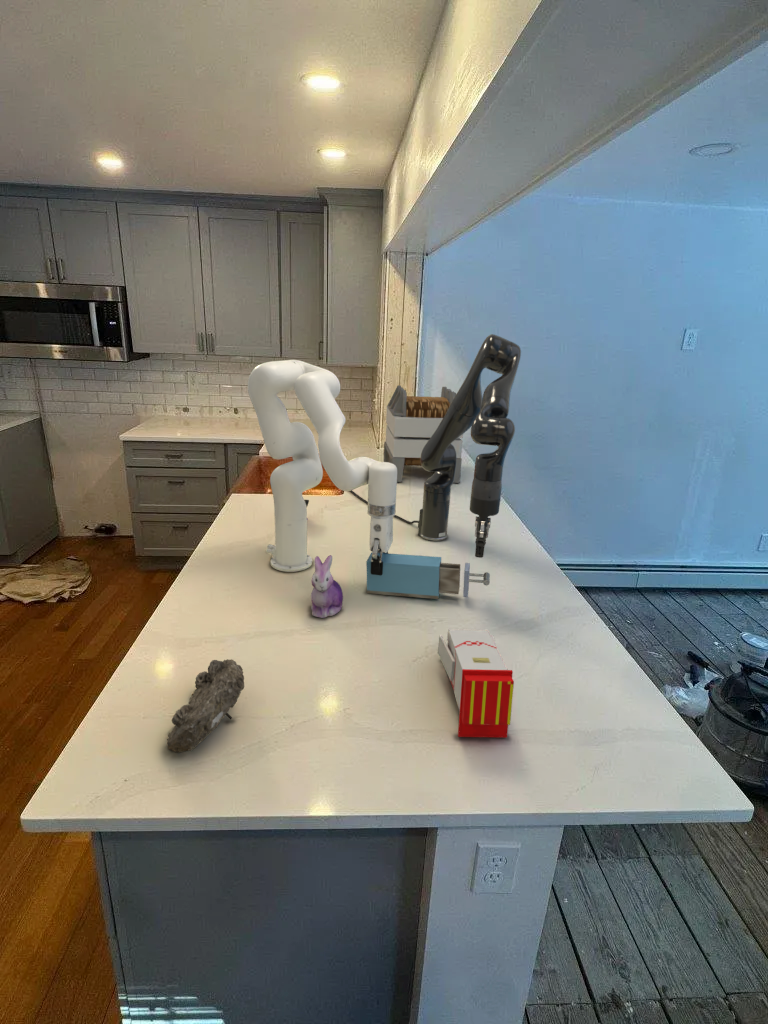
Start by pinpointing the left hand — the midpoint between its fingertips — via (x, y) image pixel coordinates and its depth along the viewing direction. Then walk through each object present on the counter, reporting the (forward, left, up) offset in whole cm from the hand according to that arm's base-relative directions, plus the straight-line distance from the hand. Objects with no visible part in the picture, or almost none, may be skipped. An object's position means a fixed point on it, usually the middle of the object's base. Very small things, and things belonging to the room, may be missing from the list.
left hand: (379, 568), depth 158 cm
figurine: (-7, -17, -6) cm, 20 cm away
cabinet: (+7, +2, -6) cm, 9 cm away
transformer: (-35, +118, -6) cm, 123 cm away
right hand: (+26, +7, +7) cm, 28 cm away
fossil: (-5, -63, -6) cm, 63 cm away
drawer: (+18, +5, -4) cm, 19 cm away
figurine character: (-47, +30, -6) cm, 56 cm away
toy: (+37, -32, -6) cm, 49 cm away
